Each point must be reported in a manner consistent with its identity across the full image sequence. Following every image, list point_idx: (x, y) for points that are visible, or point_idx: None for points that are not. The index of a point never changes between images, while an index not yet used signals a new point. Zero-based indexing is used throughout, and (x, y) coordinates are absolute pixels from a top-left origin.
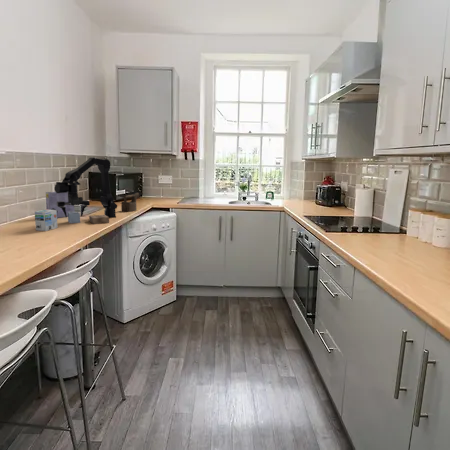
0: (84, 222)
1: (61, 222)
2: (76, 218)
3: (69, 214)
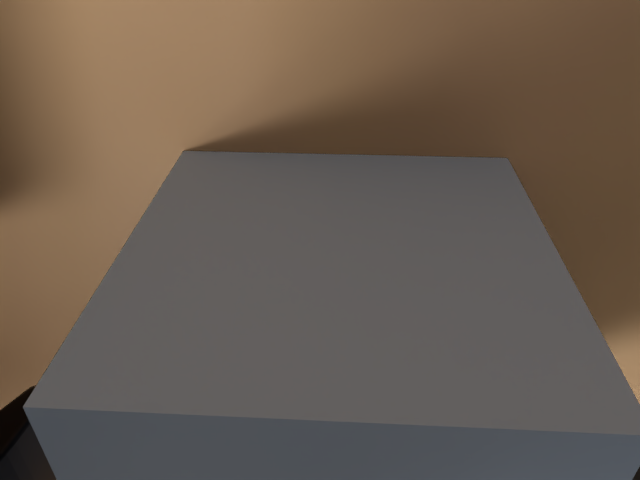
0: (44, 114)
1: (637, 372)
2: (275, 234)
3: (627, 430)
